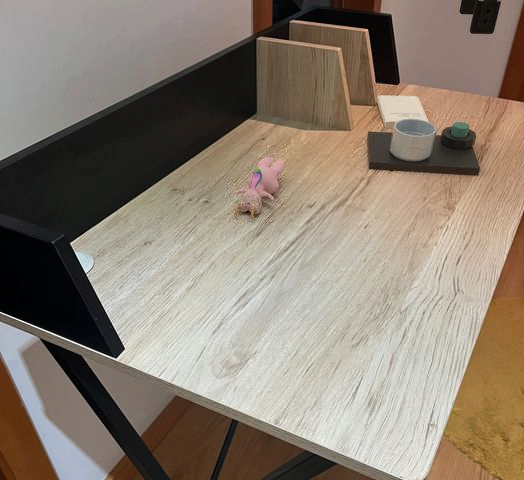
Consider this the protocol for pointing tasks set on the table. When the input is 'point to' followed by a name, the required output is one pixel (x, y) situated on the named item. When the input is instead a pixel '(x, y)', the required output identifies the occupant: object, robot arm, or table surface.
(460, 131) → the button
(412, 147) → the bowl
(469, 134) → the scale
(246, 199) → the pink soft elongated toy
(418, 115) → the hard drive
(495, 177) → the table surface
